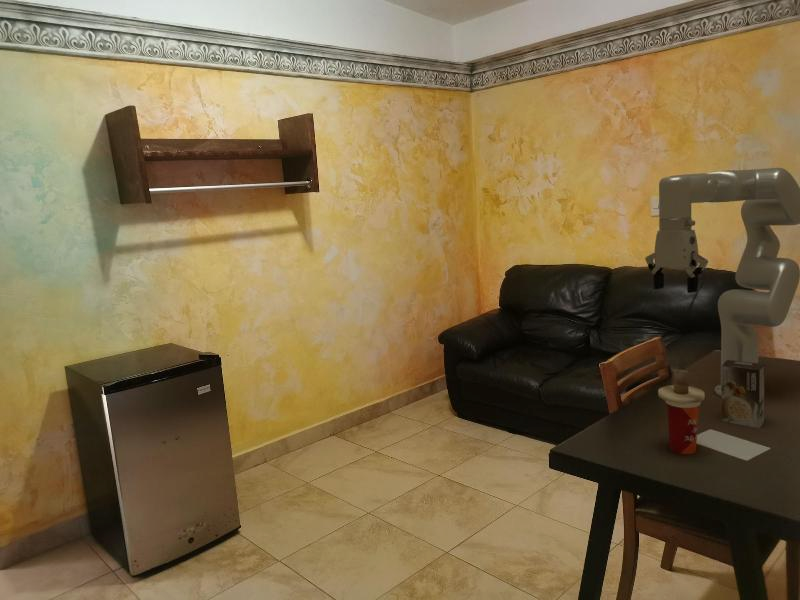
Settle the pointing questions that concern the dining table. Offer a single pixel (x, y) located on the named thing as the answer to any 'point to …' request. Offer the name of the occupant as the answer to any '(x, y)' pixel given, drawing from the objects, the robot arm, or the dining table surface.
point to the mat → (730, 444)
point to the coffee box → (743, 393)
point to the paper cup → (683, 426)
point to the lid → (681, 390)
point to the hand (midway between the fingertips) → (675, 290)
